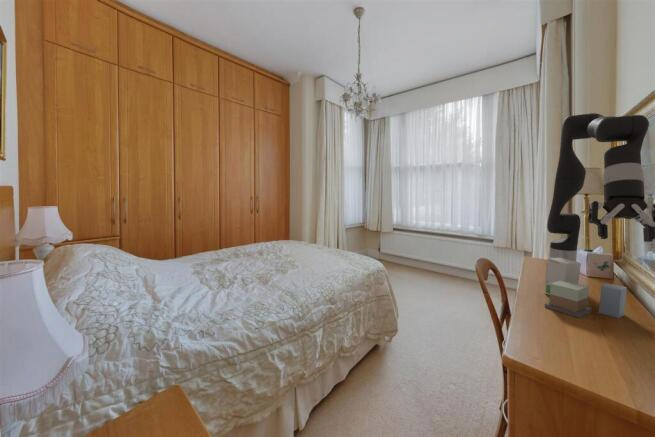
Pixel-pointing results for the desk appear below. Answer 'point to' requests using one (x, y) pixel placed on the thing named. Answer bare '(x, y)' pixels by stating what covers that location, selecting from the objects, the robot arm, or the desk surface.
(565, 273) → the skincare box
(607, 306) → the slate column brick
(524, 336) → the desk surface
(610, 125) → the robot arm
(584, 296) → the tower base
